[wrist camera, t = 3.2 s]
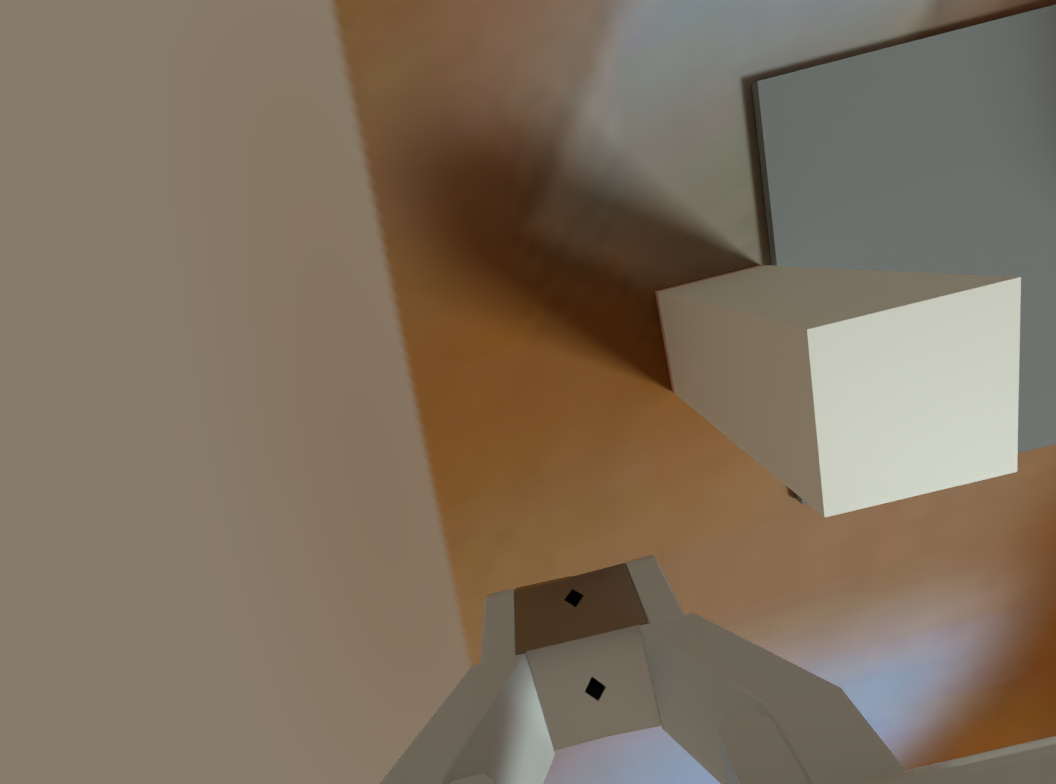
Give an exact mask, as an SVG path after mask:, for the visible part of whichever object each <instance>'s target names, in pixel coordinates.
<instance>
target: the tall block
mask: <svg viewBox="0 0 1056 784" xmlns="http://www.w3.org/2000/svg"><path fill="white" fill-rule="evenodd" d="M655 294H656V300H657V306H658V312H659V317H660V323H661V329H662V335H663V341H664V346H665V352H666V358H667V364H668V370H669V376H670V381H671V387H672V392H673V393H675V394H676V395H677V396H678V397H679V398H681V399H682V400H683V401H684V402H685V403H687V404H688V405H689V406H690V407H692V408H693V409H694V410H695V411H696V412H698V413H699V414H700V415H701V416H702V417H704V418H705V419H706V420H707V421H708V422H710V423H711V424H712V425H713V426H715V427H716V428H717V429H718V430H719V431H721V432H722V433H723V434H724V435H725V436H727V437H728V438H729V439H730V440H731V441H733V442H734V443H735V444H736V445H738V446H739V447H740V448H741V449H742V450H744V451H745V452H746V453H747V454H748V455H750V456H751V457H752V458H753V459H754V460H756V461H757V462H758V463H759V464H761V465H762V466H763V467H764V468H765V469H767V470H768V471H769V472H770V473H771V474H773V475H774V476H775V477H776V478H777V479H779V480H780V481H781V482H782V483H783V484H785V485H786V486H787V487H788V488H790V489H791V490H792V491H793V492H794V493H796V494H797V495H798V496H799V497H800V498H802V499H803V500H804V501H805V502H806V503H808V504H809V505H810V506H811V507H813V508H814V509H815V510H816V511H817V512H819V513H820V514H821V515H822V516H823V517H829V516H833V515H837V514H841V513H846V512H850V511H854V510H858V509H862V508H867V507H871V506H875V505H879V504H883V503H888V502H892V501H896V500H900V499H904V498H909V497H913V496H917V495H921V494H925V493H930V492H934V491H938V490H942V489H946V488H951V487H955V486H959V485H963V484H968V483H972V482H976V481H980V480H984V479H989V478H993V477H997V476H1001V475H1005V474H1010V473H1014V472H1017V454H1018V405H1019V356H1020V306H1021V277H1013V276H991V275H969V274H947V273H925V272H903V271H881V270H859V269H838V268H816V267H794V266H772V265H758V266H754V267H750V268H746V269H742V270H738V271H734V272H730V273H726V274H722V275H718V276H714V277H710V278H706V279H702V280H698V281H694V282H690V283H686V284H682V285H678V286H674V287H670V288H666V289H662V290H658V291H655Z"/></svg>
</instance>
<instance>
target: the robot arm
mask: <svg viewBox="0 0 1056 784" xmlns="http://www.w3.org/2000/svg"><path fill="white" fill-rule="evenodd" d="M657 726H662V728H663V729H664V730H665V731H666V732H667V733H668V734H669V735H670V736H671V737H672V738H673V739H674V740H675V741H676V742H677V743H679V744H680V745H681V746H682V747H683V748H684V749H685V750H686V751H687V752H688V753H689V754H690V755H691V756H692V757H693V758H694V759H696V760H697V761H698V762H699V763H700V764H701V765H702V766H703V767H704V768H705V769H706V770H707V771H708V772H709V773H710V774H711V775H713V776H714V777H715V778H716V779H717V780H718V781H719V782H720V783H721V784H1056V736H1053V737H1049V738H1044V739H1040V740H1036V741H1031V742H1027V743H1023V744H1019V745H1014V746H1010V747H1006V748H1001V749H997V750H993V751H988V752H984V753H980V754H975V755H971V756H967V757H962V758H958V759H954V760H949V761H945V762H941V763H936V764H932V765H928V766H923V767H919V768H915V769H910V770H905V769H904V768H903V767H902V765H901V764H900V763H899V761H898V760H897V759H896V758H895V756H894V755H893V754H892V753H891V751H890V750H889V749H888V747H887V746H886V745H885V744H884V742H883V741H882V740H881V739H880V737H879V736H878V735H877V733H876V732H875V731H874V730H873V728H872V727H871V726H870V725H869V723H868V722H867V721H866V719H865V718H864V717H863V716H862V714H861V713H860V712H859V711H858V709H857V708H856V707H855V705H854V704H853V703H852V702H851V700H850V699H849V698H848V697H847V695H846V694H845V693H844V691H843V690H842V689H841V688H840V687H838V686H836V685H834V684H832V683H830V682H828V681H826V680H824V679H822V678H820V677H818V676H816V675H814V674H812V673H810V672H808V671H806V670H804V669H802V668H800V667H798V666H796V665H794V664H792V663H791V662H789V661H787V660H785V659H783V658H781V657H779V656H777V655H775V654H773V653H771V652H769V651H767V650H765V649H763V648H761V647H759V646H757V645H755V644H753V643H751V642H749V641H747V640H745V639H743V638H741V637H739V636H738V635H736V634H734V633H732V632H730V631H728V630H726V629H724V628H722V627H720V626H718V625H716V624H714V623H712V622H710V621H708V620H706V619H704V618H702V617H700V616H698V615H696V614H694V613H692V614H687V615H685V614H684V612H683V611H682V609H681V607H680V605H679V603H678V601H677V599H676V597H675V595H674V593H673V591H672V589H671V587H670V585H669V583H668V581H667V579H666V577H665V575H664V573H663V571H662V569H661V568H660V566H659V564H658V562H657V560H656V558H655V557H654V556H653V555H649V556H646V557H642V558H639V559H635V560H631V561H628V562H625V563H623V564H619V565H615V566H611V567H607V568H603V569H599V570H596V571H592V572H588V573H584V574H580V575H576V576H572V577H570V576H569V577H564V578H560V579H555V580H551V581H546V582H541V583H537V584H532V585H528V586H523V587H518V588H516V589H509V590H505V591H501V592H497V593H493V594H489V595H487V597H486V599H485V606H484V621H483V636H482V651H481V664H477V665H473V666H472V667H471V668H470V669H469V670H468V672H467V673H466V674H465V676H464V677H463V678H462V679H461V681H460V682H459V683H458V685H457V686H456V687H455V689H454V690H453V691H452V692H451V693H450V695H449V696H448V697H447V699H446V700H445V701H444V702H443V704H442V705H441V706H440V707H439V709H438V710H437V711H436V713H435V714H434V715H433V717H432V718H431V719H430V720H429V722H428V723H427V724H426V725H425V727H424V728H423V729H422V731H421V732H420V733H419V734H418V736H417V737H416V738H415V739H414V741H413V742H412V743H411V745H410V746H409V747H408V748H407V750H406V751H405V752H404V754H403V755H402V756H401V757H400V759H399V760H398V761H397V763H396V764H395V765H394V766H393V768H392V769H391V770H390V771H389V773H388V774H387V775H386V777H385V778H384V779H383V781H382V782H381V783H380V784H543V783H544V780H545V778H546V775H547V773H548V770H549V768H550V765H551V763H552V760H553V758H554V755H555V753H554V751H555V750H558V749H562V748H566V747H570V746H573V745H577V744H581V743H585V742H588V741H592V740H596V739H600V738H603V737H607V736H612V735H617V734H622V733H627V732H632V731H637V730H642V729H647V728H652V727H657Z"/></svg>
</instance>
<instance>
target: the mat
mask: <svg viewBox="0 0 1056 784" xmlns="http://www.w3.org/2000/svg"><path fill="white" fill-rule="evenodd" d="M752 91H753V100H754V109H755V118H756V128H757V137H758V146H759V155H760V164H761V173H762V183H763V192H764V201H765V210H766V219H767V228H768V238H769V247H770V256H771V265H772V266H794V267H816V268H838V269H859V270H881V271H903V272H925V273H947V274H969V275H991V276H1013V277H1021V306H1020V356H1019V405H1018V453H1019V452H1024V451H1028V450H1032V449H1036V448H1040V447H1045V446H1049V445H1053V444H1056V4H1055V5H1051V6H1048V7H1044V8H1040V9H1036V10H1032V11H1028V12H1024V13H1020V14H1016V15H1013V16H1009V17H1005V18H1001V19H997V20H993V21H989V22H985V23H981V24H978V25H974V26H970V27H966V28H962V29H958V30H954V31H950V32H947V33H943V34H939V35H935V36H931V37H927V38H923V39H919V40H915V41H912V42H908V43H904V44H900V45H896V46H892V47H888V48H884V49H880V50H877V51H873V52H869V53H865V54H861V55H857V56H853V57H849V58H845V59H842V60H838V61H834V62H830V63H826V64H822V65H818V66H814V67H810V68H807V69H803V70H799V71H795V72H791V73H787V74H783V75H779V76H775V77H772V78H768V79H764V80H760V81H757V82H755V83H754V84H753V85H752ZM796 495H797V494H796ZM797 500H798V501H799V502H800V503H802V504H805V503H806V502H805V501H804V500H803V499H802V498H800V497H799V496H798V495H797Z"/></svg>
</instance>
